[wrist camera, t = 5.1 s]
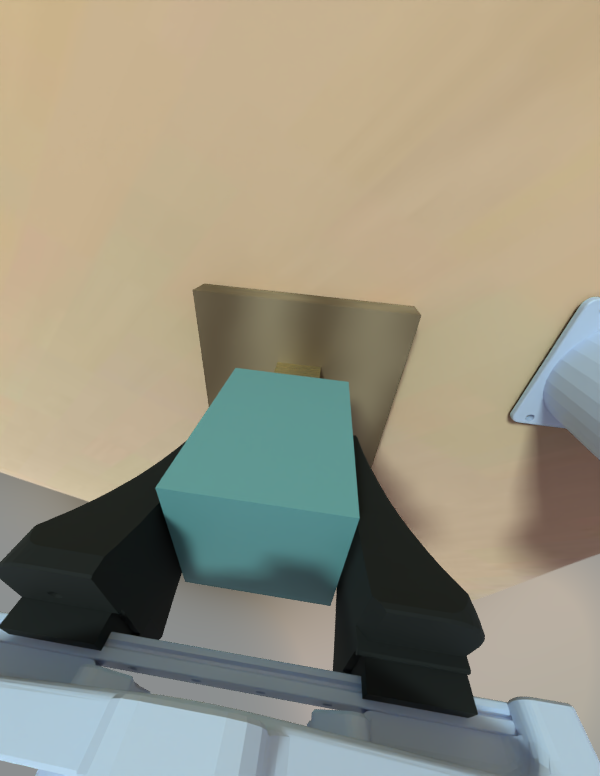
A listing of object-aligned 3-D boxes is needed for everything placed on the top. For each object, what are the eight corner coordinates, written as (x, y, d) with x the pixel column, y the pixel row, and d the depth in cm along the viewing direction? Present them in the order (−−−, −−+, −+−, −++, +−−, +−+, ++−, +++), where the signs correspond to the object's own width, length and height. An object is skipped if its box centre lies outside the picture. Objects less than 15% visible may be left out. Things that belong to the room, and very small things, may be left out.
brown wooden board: (414, 306, 15) (421, 315, 14) (345, 530, 28) (345, 545, 27) (204, 283, 16) (192, 290, 14) (230, 512, 28) (225, 526, 27)
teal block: (348, 381, 12) (359, 518, 7) (332, 462, 15) (330, 605, 9) (235, 367, 12) (155, 487, 7) (240, 449, 15) (185, 581, 10)
